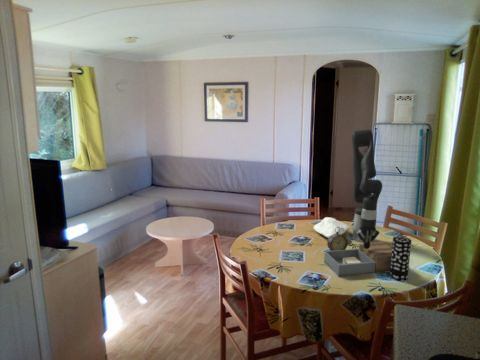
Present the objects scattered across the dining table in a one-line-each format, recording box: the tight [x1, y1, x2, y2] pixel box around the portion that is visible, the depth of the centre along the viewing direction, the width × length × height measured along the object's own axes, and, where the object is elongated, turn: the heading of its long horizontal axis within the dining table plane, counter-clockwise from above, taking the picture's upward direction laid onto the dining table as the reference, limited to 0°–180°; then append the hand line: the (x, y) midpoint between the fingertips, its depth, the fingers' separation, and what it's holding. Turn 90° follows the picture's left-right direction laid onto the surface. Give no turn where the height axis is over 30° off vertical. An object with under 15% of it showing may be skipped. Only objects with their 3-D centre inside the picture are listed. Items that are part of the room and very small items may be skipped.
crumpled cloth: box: [313, 216, 351, 239], centre depth 241 cm, size 24×35×9 cm
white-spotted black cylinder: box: [389, 236, 412, 282], centre depth 180 cm, size 8×8×20 cm
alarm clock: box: [326, 227, 348, 251], centre depth 209 cm, size 11×5×16 cm, turn 105°
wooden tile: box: [343, 257, 361, 264], centre depth 193 cm, size 7×7×3 cm
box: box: [323, 248, 376, 278], centre depth 192 cm, size 18×20×6 cm
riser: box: [358, 241, 392, 274], centre depth 195 cm, size 18×14×9 cm
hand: (366, 248), depth 193 cm, fingers closed
